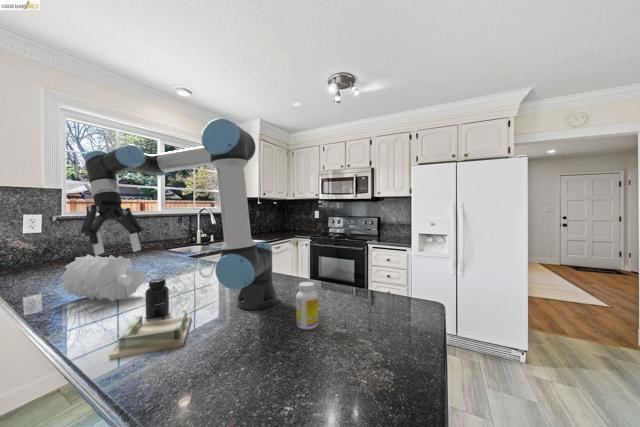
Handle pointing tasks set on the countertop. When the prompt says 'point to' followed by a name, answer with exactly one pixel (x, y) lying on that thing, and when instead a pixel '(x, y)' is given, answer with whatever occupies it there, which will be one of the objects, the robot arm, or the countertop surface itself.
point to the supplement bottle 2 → (307, 306)
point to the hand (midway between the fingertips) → (120, 252)
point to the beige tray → (152, 336)
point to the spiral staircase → (102, 277)
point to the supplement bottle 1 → (157, 299)
